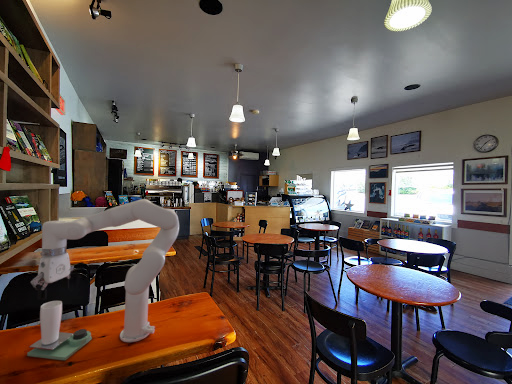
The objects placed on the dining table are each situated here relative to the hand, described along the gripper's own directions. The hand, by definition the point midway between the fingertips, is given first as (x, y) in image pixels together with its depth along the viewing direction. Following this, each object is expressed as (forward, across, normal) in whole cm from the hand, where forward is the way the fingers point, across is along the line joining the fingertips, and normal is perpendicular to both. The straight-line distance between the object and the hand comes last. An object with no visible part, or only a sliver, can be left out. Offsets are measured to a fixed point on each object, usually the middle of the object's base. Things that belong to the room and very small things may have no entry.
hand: (53, 293), depth 95 cm
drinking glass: (+20, 0, +1) cm, 20 cm away
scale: (+23, +2, -2) cm, 23 cm away
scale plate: (+20, 0, +1) cm, 20 cm away
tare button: (+20, +5, -7) cm, 22 cm away
